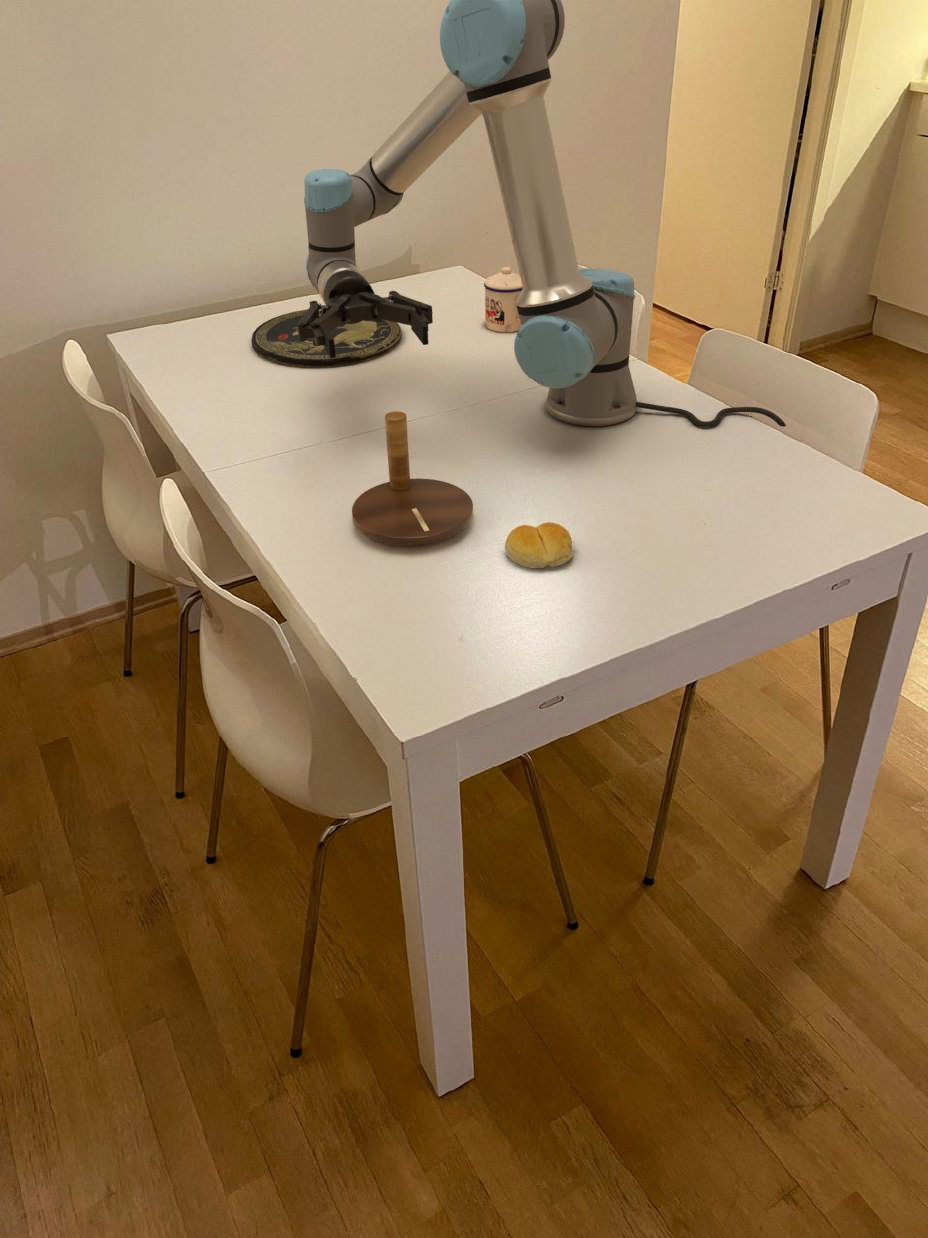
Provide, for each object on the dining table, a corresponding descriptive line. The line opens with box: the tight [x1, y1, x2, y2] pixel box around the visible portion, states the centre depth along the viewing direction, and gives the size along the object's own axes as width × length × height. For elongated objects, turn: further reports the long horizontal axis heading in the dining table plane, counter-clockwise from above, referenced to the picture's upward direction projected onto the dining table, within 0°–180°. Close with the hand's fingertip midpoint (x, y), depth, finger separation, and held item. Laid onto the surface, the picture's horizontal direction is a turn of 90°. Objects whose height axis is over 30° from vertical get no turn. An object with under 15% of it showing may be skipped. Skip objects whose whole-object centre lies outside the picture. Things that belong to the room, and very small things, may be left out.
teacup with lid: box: [483, 266, 523, 333], centre depth 202 cm, size 12×9×12 cm
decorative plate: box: [251, 308, 403, 368], centre depth 202 cm, size 30×2×30 cm
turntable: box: [351, 410, 474, 546], centre depth 138 cm, size 17×17×12 cm
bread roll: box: [504, 521, 575, 569], centre depth 134 cm, size 8×9×4 cm
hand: (379, 342), depth 142 cm, fingers open, 13 cm apart
